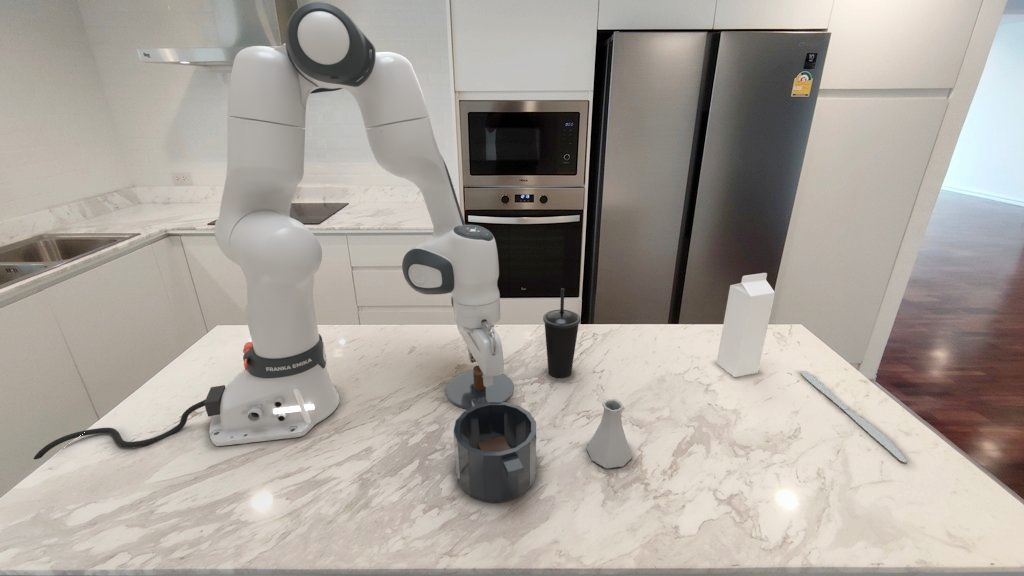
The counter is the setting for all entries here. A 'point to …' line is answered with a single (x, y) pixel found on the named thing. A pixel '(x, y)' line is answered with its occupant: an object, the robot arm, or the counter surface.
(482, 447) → the block
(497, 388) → the lid
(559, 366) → the drinking cup
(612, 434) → the flask
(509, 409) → the pot
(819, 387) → the butter knife
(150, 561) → the counter surface
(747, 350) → the milk
